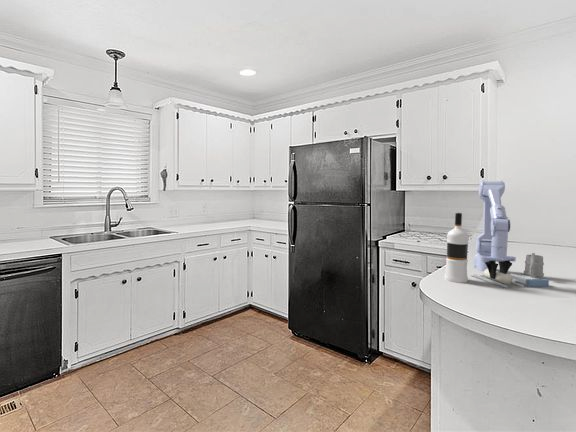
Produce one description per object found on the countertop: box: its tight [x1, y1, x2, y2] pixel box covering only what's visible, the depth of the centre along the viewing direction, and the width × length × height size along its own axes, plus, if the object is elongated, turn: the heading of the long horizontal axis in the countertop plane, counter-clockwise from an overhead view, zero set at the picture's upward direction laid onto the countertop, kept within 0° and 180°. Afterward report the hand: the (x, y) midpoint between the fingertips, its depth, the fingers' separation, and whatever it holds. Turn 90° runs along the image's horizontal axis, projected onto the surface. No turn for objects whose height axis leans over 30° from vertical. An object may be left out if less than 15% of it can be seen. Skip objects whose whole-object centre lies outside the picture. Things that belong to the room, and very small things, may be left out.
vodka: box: [443, 212, 470, 284], centre depth 149 cm, size 9×9×30 cm
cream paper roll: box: [483, 269, 513, 285], centre depth 148 cm, size 12×4×4 cm, turn 8°
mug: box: [523, 252, 545, 279], centre depth 158 cm, size 8×12×12 cm, turn 139°
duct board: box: [471, 273, 553, 289], centre depth 149 cm, size 20×22×4 cm
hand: (497, 278), depth 148 cm, fingers closed on cream paper roll, 4 cm apart
